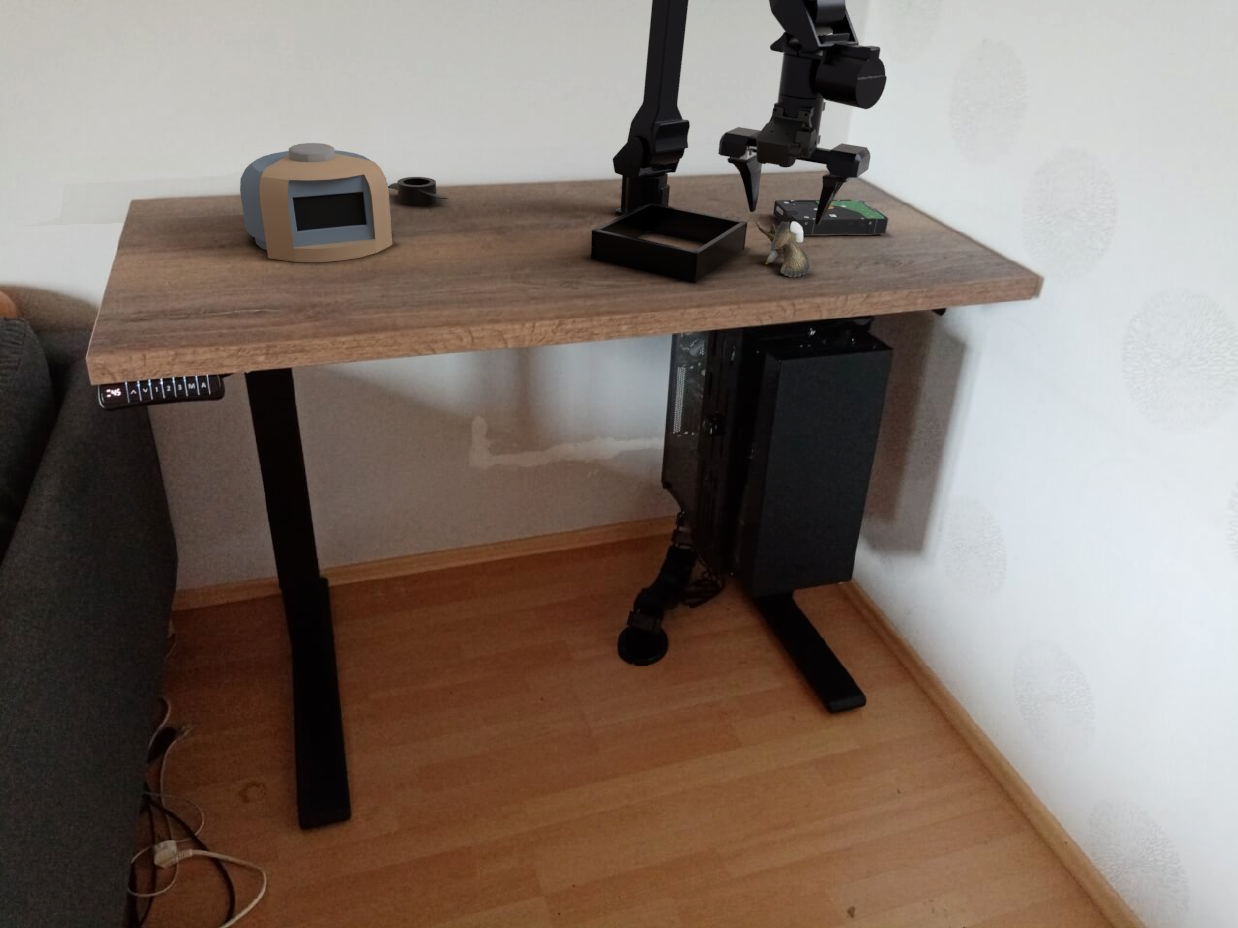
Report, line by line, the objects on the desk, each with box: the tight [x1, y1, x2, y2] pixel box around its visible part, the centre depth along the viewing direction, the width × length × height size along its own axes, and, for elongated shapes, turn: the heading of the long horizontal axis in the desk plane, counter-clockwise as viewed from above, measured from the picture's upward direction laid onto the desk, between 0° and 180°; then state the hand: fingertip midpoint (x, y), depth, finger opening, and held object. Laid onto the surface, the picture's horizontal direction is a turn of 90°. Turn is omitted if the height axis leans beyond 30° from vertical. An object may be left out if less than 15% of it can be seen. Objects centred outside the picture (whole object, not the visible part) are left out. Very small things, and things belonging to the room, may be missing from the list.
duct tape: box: [388, 176, 449, 207], centre depth 150 cm, size 8×10×3 cm
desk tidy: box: [590, 202, 748, 284], centre depth 134 cm, size 16×17×4 cm
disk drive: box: [772, 199, 889, 236], centre depth 150 cm, size 10×3×15 cm
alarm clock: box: [239, 142, 393, 263], centre depth 131 cm, size 19×20×12 cm
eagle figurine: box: [755, 221, 810, 278], centre depth 132 cm, size 8×7×9 cm
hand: (784, 217), depth 130 cm, fingers open, 9 cm apart
